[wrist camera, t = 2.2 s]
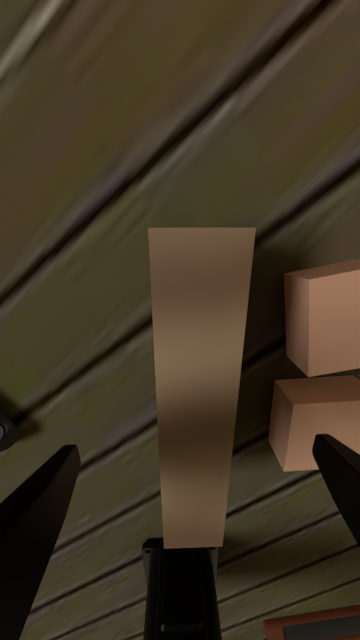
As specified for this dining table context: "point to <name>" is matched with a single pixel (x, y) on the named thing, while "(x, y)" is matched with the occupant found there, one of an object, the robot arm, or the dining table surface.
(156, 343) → the bar
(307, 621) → the smartphone
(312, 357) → the tile
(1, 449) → the bracket
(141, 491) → the dining table surface
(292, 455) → the tile
